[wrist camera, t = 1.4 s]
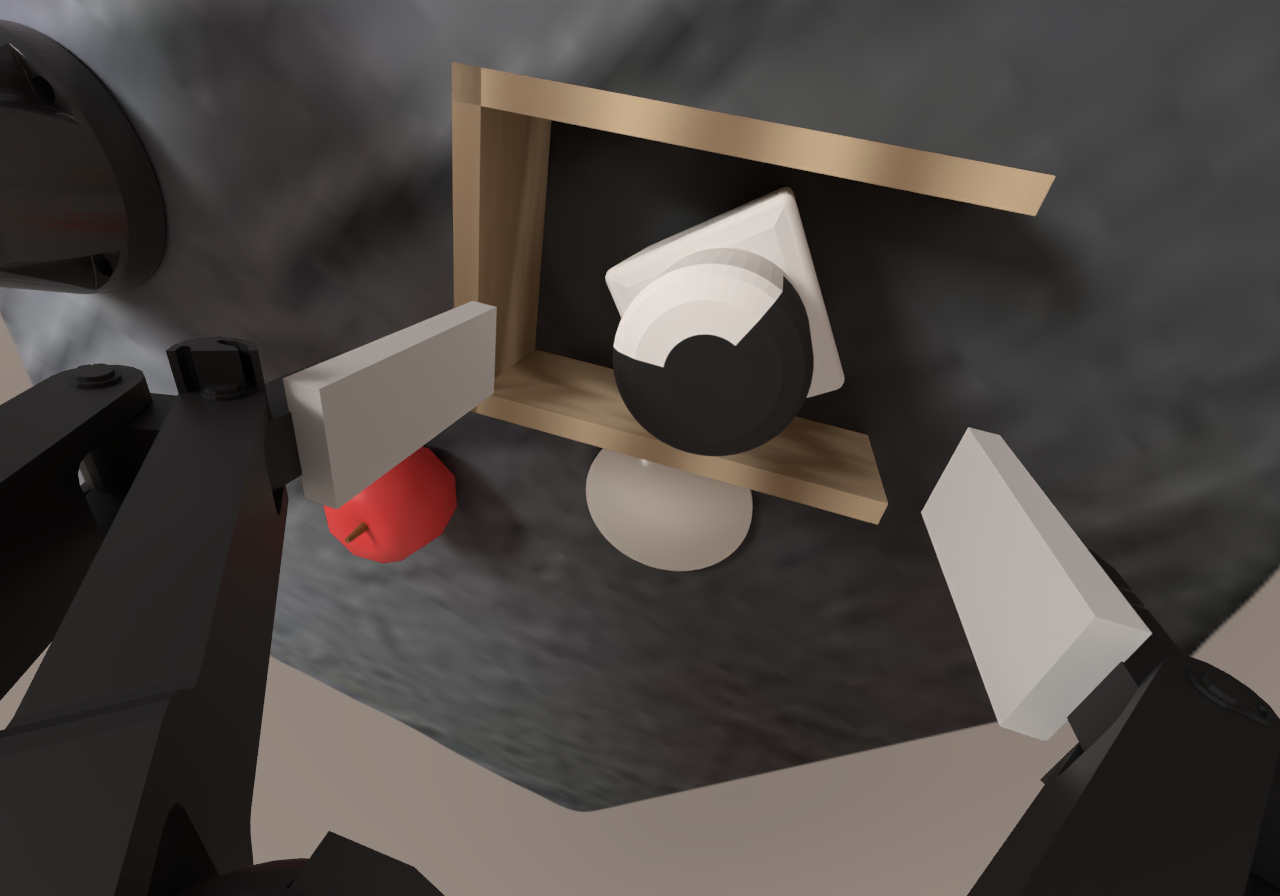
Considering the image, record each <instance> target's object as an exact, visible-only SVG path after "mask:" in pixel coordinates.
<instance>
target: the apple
mask: <svg viewBox="0 0 1280 896" xmlns="http://www.w3.org/2000/svg"><path fill="white" fill-rule="evenodd" d="M456 507H457V498H456V484H455V476H454V475H453V474H452V473H451V472H450V470H449V469H448V468H447V467H446V466H445V465H444V464H443V463H442V462H441V461H440V460H439V459H438V457H437V456H436V455H435V454H434V453H433V452H432V451H431V450H430V449H429V448H426V447H421V448H419V449H418V450H417V451H415V452H414V453H412V454H411V455H410V456H408V457H407V458H406V459H404V460H403V461H402V462H400V463H399V464H398V465H396V466H395V467H394V468H392V469H391V470H390V471H388V472H387V473H386V474H384V475H383V476H382V477H380V478H379V479H378V480H376V481H375V482H373V483H372V484H371V485H369V486H368V487H367V488H365V489H364V490H363V491H361V492H360V493H359V494H357V495H356V496H355V497H353V498H352V499H351V500H349V501H348V502H347V503H345V504H344V505H343V506H341V507H340V508H339V509H334V508H331V507H328V506H325V505H324V509H325V513H326V518H327V522H328V526H329V531H330V532H331V533H332V534H333V535H334V536H335V537H336V538H337V539H338V540H339V541H340V542H341V543H342V544H343V545H344V546H345V547H346V548H347V549H348V550H349V551H350V552H351V553H352V554H353V555H356V556H359V557H363V558H366V559H370V560H374V561H377V562H381V563H388V562H396V561H402V560H403V559H405V558H406V557H408V556H409V555H411V554H412V553H414V552H416V551H417V550H419V549H420V548H422V547H423V546H425V545H426V544H428V543H429V542H431V541H432V540H434V539H435V538H437V537H438V536H439V535H441V534H442V533H443V531H444V529H445V527H446V525H447V524H448V522H449V520H450V518H451V516H452V515H453V513H454V511H455V509H456Z"/></svg>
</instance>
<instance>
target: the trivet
mask: <svg viewBox="0 0 1280 896" xmlns="http://www.w3.org/2000/svg"><path fill="white" fill-rule="evenodd" d="M586 500H587V504H588V508H589V511H590V514H591V516H592V519H593V520H594V522H595V524H596V526H597V527H598V529H599V530H600V532H601V533H602V534H603V536H604V537H605V538H606V539H607V540H608V541H609V542H610V543H611V544H612V545H613V546H614V547H615V548H617V549H618V550H619V551H621V552H622V553H623V554H625V555H627V556H628V557H630V558H632V559H633V560H636V561H638V562H640V563H642V564H645V565H648V566H650V567H654V568H658V569H663V570H670V571H691V570H697V569H702V568H705V567H709V566H711V565H714V564H716V563H718V562H720V561H722V560H723V559H725V558H727V557H728V556H729V555H730V554H732V553H733V552H734V551H735V550H736V549H737V548H738V547H739V546H740V544H741V543H742V541H743V540H744V538H745V537H746V535H747V532H748V530H749V527H750V523H751V520H752V510H753V498H752V492H751V489H748V488H744V487H741V486H737V485H733V484H730V483H726V482H723V481H719V480H715V479H712V478H708V477H705V476H701V475H698V474H694V473H690V472H687V471H683V470H680V469H676V468H672V467H669V466H665V465H662V464H658V463H654V462H651V461H647V460H644V459H640V458H637V457H633V456H629V455H626V454H622V453H619V452H615V451H611V450H608V449H604V448H602V450H601V451H600V452H599V453H598V455H597V456H596V458H595V460H594V461H593V463H592V465H591V467H590V470H589V472H588V476H587V481H586Z"/></svg>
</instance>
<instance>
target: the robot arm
mask: <svg viewBox="0 0 1280 896" xmlns="http://www.w3.org/2000/svg"><path fill="white" fill-rule="evenodd" d="M165 237H166V227H165V216H164V209H163V203H162V199H161V195H160V191H159V187H158V184H157V181H156V178H155V175H154V172H153V170H152V167H151V165H150V162H149V160H148V158H147V155H146V153H145V151H144V149H143V147H142V145H141V143H140V141H139V139H138V137H137V135H136V134H135V132H134V130H133V128H132V127H131V125H130V123H129V122H128V120H127V118H126V117H125V115H124V114H123V112H122V111H121V109H120V108H119V107H118V105H117V104H116V102H115V101H114V100H113V98H112V97H111V96H110V94H109V93H108V92H107V91H106V89H105V88H104V87H103V86H102V85H101V83H100V82H99V81H98V80H97V79H96V78H95V77H94V76H93V75H92V74H91V72H90V71H89V70H88V69H87V68H86V67H85V66H84V65H83V64H82V63H81V62H79V61H78V60H77V59H76V58H75V57H74V56H73V55H72V54H70V53H69V52H68V51H67V50H65V49H64V48H63V47H62V46H60V45H59V44H57V43H56V42H55V41H53V40H52V39H50V38H48V37H47V36H45V35H43V34H42V33H40V32H38V31H36V30H34V29H32V28H29V27H27V26H24V25H22V24H19V23H15V22H11V21H6V20H0V287H7V288H18V289H30V290H42V291H53V292H65V293H76V294H96V293H103V292H109V291H114V290H120V289H125V288H130V287H134V286H137V285H140V284H142V283H143V282H145V281H146V280H148V279H149V278H150V277H151V276H152V275H153V274H154V272H155V271H156V269H157V268H158V266H159V264H160V261H161V259H162V255H163V252H164V246H165ZM496 313H497V307H495V306H491V305H487V304H483V303H479V302H475V301H471V302H469V303H466V304H464V305H461V306H459V307H456V308H454V309H451V310H449V311H447V312H444V313H442V314H439V315H437V316H434V317H432V318H429V319H427V320H425V321H422V322H420V323H417V324H415V325H412V326H410V327H407V328H405V329H402V330H400V331H398V332H395V333H393V334H390V335H388V336H385V337H383V338H380V339H378V340H376V341H373V342H371V343H368V344H366V345H363V346H361V347H358V348H356V349H354V350H351V351H349V352H346V353H340V354H337V355H335V356H332V357H330V358H327V359H325V360H322V361H321V363H319V362H318V363H315V364H313V365H310V366H308V367H307V369H304V368H303V369H300V370H298V371H295V372H293V373H290V374H288V375H285V376H283V377H281V378H278V379H276V380H273V381H271V382H268V383H266V384H264V379H263V374H262V369H261V364H260V359H259V355H258V350H257V347H256V345H254V344H252V343H251V342H249V341H245V340H240V339H236V338H222V337H217V338H201V339H195V340H189V341H184V342H182V343H179V344H176V345H173V346H172V347H170V348H169V349H168V350H166V353H167V356H168V359H169V363H170V366H171V369H172V373H173V376H174V379H175V383H176V386H177V389H178V393H179V394H178V396H174V395H165V394H155V393H150V391H149V388H148V385H147V382H146V379H145V376H144V374H143V372H142V371H141V370H139V369H136V368H134V367H129V366H122V365H106V364H93V365H91V364H90V365H82V366H79V367H78V368H75V369H71V370H67V371H63V372H61V373H58V374H56V375H53V376H51V377H49V378H47V379H45V380H44V381H42V382H40V383H38V384H37V385H35V386H33V387H31V388H30V389H28V390H26V391H25V392H23V393H21V394H19V395H17V396H16V397H14V398H12V399H10V400H9V401H7V402H5V403H3V404H2V405H0V700H1V699H2V698H3V697H4V696H5V695H6V693H7V692H8V691H9V690H10V689H11V688H12V687H13V685H14V684H15V683H16V682H17V681H18V680H19V679H20V677H21V676H22V675H23V674H24V673H25V672H26V671H27V669H28V668H29V667H30V666H31V665H32V664H33V663H34V661H35V660H36V659H37V658H38V657H39V656H40V654H41V653H42V652H43V651H44V650H45V649H46V648H47V646H48V645H49V644H50V643H51V642H52V643H51V645H50V647H49V649H48V651H47V653H46V655H45V656H44V658H43V660H42V663H41V664H40V666H39V668H38V670H37V672H36V674H35V676H34V678H33V680H32V682H31V684H30V686H29V688H28V690H27V692H26V694H25V696H24V698H23V700H22V702H21V704H20V706H19V708H18V709H17V711H16V713H15V716H14V717H13V719H12V720H11V722H10V723H9V724H8V726H7V727H6V729H5V730H1V731H0V896H444V895H443V894H442V893H441V892H440V891H439V890H438V889H437V888H436V887H435V886H434V885H433V884H432V883H431V882H430V881H428V880H427V879H426V878H425V877H424V876H423V875H422V874H421V873H420V872H418V870H417V869H416V868H415V867H413V866H410V865H408V864H406V863H403V862H401V861H399V860H396V859H394V858H391V857H389V856H387V855H385V854H382V853H380V852H377V851H375V850H373V849H370V848H368V847H366V846H363V845H361V844H359V843H356V842H354V841H352V840H349V839H347V838H345V837H342V836H340V835H337V834H335V833H333V832H330V831H329V832H328V833H327V835H326V836H325V837H324V839H323V840H322V842H321V843H320V844H319V846H318V847H317V849H316V850H315V852H314V853H313V854H312V856H311V858H310V859H305V858H299V859H287V860H276V861H271V862H266V863H261V864H256V865H253V854H252V845H251V834H250V818H251V817H250V816H251V806H252V797H253V789H254V781H255V773H256V764H257V756H258V747H259V739H260V731H261V723H262V714H263V705H264V698H265V690H266V681H267V673H268V665H269V657H270V648H271V640H272V632H273V623H274V615H275V607H276V598H277V590H278V582H279V574H280V565H281V557H282V549H283V540H284V532H285V524H286V516H287V507H288V495H287V490H286V484H287V483H289V482H291V481H292V480H294V479H296V478H297V477H299V476H300V475H301V479H302V484H303V489H304V495H305V499H307V500H310V501H313V502H316V503H319V504H322V505H325V506H328V507H331V508H334V509H339V508H340V507H341V506H343V505H344V504H345V503H347V502H348V501H349V500H351V499H352V498H353V497H355V496H356V495H357V494H359V493H360V492H361V491H363V490H364V489H365V488H367V487H368V486H369V485H371V484H372V483H373V482H375V481H376V480H378V479H379V478H380V477H382V476H383V475H384V474H386V473H387V472H388V471H390V470H391V469H392V468H394V467H395V466H396V465H398V464H399V463H400V462H402V461H403V460H404V459H406V458H407V457H408V456H410V455H411V454H412V453H414V452H415V451H417V450H418V449H419V448H421V447H422V446H423V445H425V444H426V443H427V442H429V441H430V440H431V439H433V438H434V437H435V436H437V435H438V434H439V433H441V432H442V431H443V430H445V429H446V428H447V427H449V426H450V425H451V424H453V423H454V422H455V421H457V420H458V419H460V418H461V417H462V416H464V415H465V414H466V413H468V412H469V411H470V410H472V409H473V408H474V407H476V406H477V405H478V404H480V403H481V402H482V401H484V400H485V399H486V398H488V397H489V396H490V395H492V394H493V393H494V374H495V343H496ZM79 469H80V471H81V473H82V476H83V478H84V480H85V482H84V483H83V484H82V485H81V486H80V483H79V478H78V471H79ZM921 514H922V516H923V519H924V522H925V525H926V527H927V530H928V533H929V536H930V538H931V541H932V544H933V546H934V549H935V552H936V555H937V557H938V560H939V563H940V565H941V568H942V571H943V574H944V576H945V579H946V582H947V584H948V587H949V590H950V593H951V595H952V598H953V601H954V603H955V606H956V609H957V612H958V614H959V617H960V620H961V623H962V625H963V628H964V631H965V633H966V636H967V639H968V642H969V644H970V647H971V650H972V652H973V655H974V658H975V661H976V663H977V666H978V669H979V671H980V674H981V677H982V680H983V682H984V685H985V688H986V691H987V693H988V696H989V699H990V701H991V704H992V707H993V710H994V712H995V715H996V718H997V720H998V723H999V726H1000V727H1003V728H1006V729H1009V730H1012V731H1015V732H1018V733H1021V734H1024V735H1027V736H1030V737H1033V738H1037V739H1039V740H1042V741H1046V742H1047V741H1048V740H1049V739H1050V738H1051V737H1052V736H1053V735H1054V734H1055V733H1056V732H1057V731H1058V730H1059V728H1060V727H1062V726H1063V725H1064V724H1065V722H1066V721H1067V720H1068V721H1069V723H1070V724H1071V727H1072V728H1073V731H1074V733H1075V735H1076V737H1077V739H1078V741H1079V743H1078V744H1077V745H1076V746H1075V747H1074V748H1072V749H1071V751H1069V752H1068V753H1067V754H1066V755H1065V756H1064V757H1063V758H1062V759H1061V760H1060V761H1059V762H1058V763H1057V764H1056V765H1055V766H1054V767H1053V768H1052V769H1051V770H1050V771H1049V772H1048V773H1047V774H1046V775H1045V776H1044V777H1043V778H1042V779H1041V781H1042V782H1043V783H1044V784H1045V786H1044V787H1043V788H1042V790H1041V791H1040V792H1039V794H1038V795H1037V797H1036V798H1035V799H1034V801H1033V802H1032V804H1031V805H1030V807H1029V808H1028V809H1027V811H1026V812H1025V814H1024V815H1023V817H1022V818H1021V819H1020V821H1019V822H1018V824H1017V825H1016V827H1015V828H1014V829H1013V831H1012V832H1011V834H1010V835H1009V837H1008V838H1007V839H1006V841H1005V842H1004V844H1003V845H1002V847H1001V848H1000V849H999V851H998V852H997V854H996V855H995V856H994V858H993V859H992V861H991V862H990V864H989V865H988V867H987V868H986V869H985V871H984V872H983V874H982V875H981V876H980V878H979V879H978V881H977V882H976V884H975V885H974V886H973V888H972V889H971V891H970V892H969V893H968V895H967V896H1280V719H1279V718H1278V716H1277V715H1276V714H1275V712H1274V711H1273V710H1272V708H1271V707H1270V706H1269V705H1268V704H1267V703H1266V702H1265V701H1264V700H1263V699H1261V698H1260V697H1259V696H1258V695H1257V694H1256V693H1255V692H1254V691H1252V690H1251V689H1250V688H1248V687H1247V686H1246V685H1244V684H1243V683H1241V682H1240V681H1238V680H1237V679H1235V678H1234V677H1232V676H1231V675H1229V674H1227V673H1225V672H1224V671H1222V670H1220V669H1218V668H1216V667H1214V666H1212V665H1210V664H1208V663H1206V662H1203V661H1201V660H1198V659H1195V658H1192V657H1189V656H1184V654H1183V653H1182V652H1181V651H1180V649H1179V648H1178V647H1177V646H1176V644H1175V643H1174V642H1173V641H1172V639H1171V638H1170V637H1169V636H1168V634H1167V633H1166V632H1165V631H1164V629H1163V628H1162V627H1161V626H1160V624H1159V623H1158V622H1157V621H1156V619H1155V618H1154V617H1153V616H1152V615H1151V613H1150V612H1149V611H1148V610H1147V609H1144V605H1143V603H1142V602H1141V601H1140V600H1139V598H1138V597H1137V596H1136V595H1135V593H1132V592H1131V588H1130V587H1129V586H1128V585H1127V583H1126V582H1125V581H1124V580H1123V578H1122V577H1121V576H1120V575H1119V573H1118V572H1117V571H1116V570H1115V569H1114V568H1113V567H1112V566H1110V565H1109V564H1108V563H1107V562H1105V561H1104V560H1103V559H1102V558H1100V557H1099V556H1098V555H1097V554H1095V553H1094V552H1093V551H1092V550H1089V549H1087V548H1086V547H1085V545H1084V544H1083V543H1082V542H1081V540H1080V539H1079V538H1078V536H1077V535H1076V534H1075V532H1074V531H1073V530H1072V529H1071V527H1070V526H1069V525H1068V523H1067V522H1066V521H1065V519H1064V518H1063V517H1062V516H1061V514H1060V513H1059V512H1058V510H1057V509H1056V508H1055V506H1054V505H1053V504H1052V503H1051V501H1050V500H1049V499H1048V497H1047V496H1046V495H1045V493H1044V492H1043V491H1042V490H1041V488H1040V487H1039V486H1038V484H1037V483H1036V482H1035V480H1034V479H1033V478H1032V477H1031V475H1030V474H1029V473H1028V471H1027V470H1026V469H1025V467H1024V466H1023V465H1022V464H1021V462H1020V461H1019V460H1018V458H1017V457H1016V456H1015V455H1014V453H1013V452H1012V451H1011V449H1010V448H1009V447H1008V445H1007V444H1006V443H1005V442H1004V440H1003V439H1002V438H1001V436H1000V435H997V434H993V433H989V432H985V431H981V430H977V429H973V428H969V427H968V429H967V430H966V432H965V434H964V436H963V438H962V439H961V441H960V443H959V445H958V447H957V448H956V450H955V452H954V454H953V456H952V457H951V459H950V461H949V463H948V465H947V467H946V468H945V470H944V472H943V474H942V476H941V477H940V479H939V481H938V483H937V485H936V486H935V488H934V490H933V492H932V494H931V495H930V497H929V499H928V501H927V503H926V504H925V506H924V508H923V510H922V512H921Z"/></svg>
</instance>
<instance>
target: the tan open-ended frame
mask: <svg viewBox="0 0 1280 896" xmlns="http://www.w3.org/2000/svg"><path fill="white" fill-rule="evenodd" d="M451 63H452V161H453V260H454V308H456V307H459V306H461V305H464V304H466V303H469V302H471V301H475V302H479V303H483V304H487V305H491V306H495V307H497V313H496V343H495V374H494V393H493V394H492V395H490V396H489V397H488V398H486V399H485V400H484V401H482V402H481V403H480V404H478V405H477V406H476V407H474V408H473V409H472V410H470V411H472V412H475V413H479V414H482V415H486V416H489V417H493V418H497V419H500V420H504V421H507V422H511V423H515V424H518V425H522V426H525V427H529V428H533V429H536V430H540V431H543V432H547V433H550V434H554V435H558V436H561V437H565V438H568V439H572V440H576V441H579V442H583V443H586V444H590V445H594V446H597V447H601V448H604V449H608V450H611V451H615V452H619V453H622V454H626V455H629V456H633V457H637V458H640V459H644V460H647V461H651V462H654V463H658V464H662V465H665V466H669V467H672V468H676V469H680V470H683V471H687V472H690V473H694V474H698V475H701V476H705V477H708V478H712V479H715V480H719V481H723V482H726V483H730V484H733V485H737V486H741V487H744V488H748V489H751V490H755V491H758V492H762V493H766V494H769V495H773V496H776V497H780V498H784V499H787V500H791V501H794V502H798V503H802V504H805V505H809V506H812V507H816V508H819V509H823V510H827V511H830V512H834V513H837V514H841V515H845V516H848V517H852V518H855V519H859V520H862V521H866V522H870V523H873V524H877V525H878V523H879V521H880V519H881V517H882V515H883V513H884V511H885V509H886V507H887V505H888V501H887V498H886V495H885V491H884V488H883V485H882V481H881V478H880V475H879V471H878V468H877V464H876V461H875V458H874V454H873V451H872V448H871V444H870V441H869V438H868V435H866V434H862V433H858V432H854V431H850V430H846V429H843V428H839V427H835V426H831V425H827V424H823V423H819V422H815V421H812V420H808V419H804V418H800V417H795V418H794V419H793V421H792V422H791V423H790V424H789V425H788V426H787V427H786V428H785V429H784V430H783V431H782V432H781V433H779V434H778V435H777V436H776V437H774V438H773V439H772V440H770V441H768V442H767V443H765V444H763V445H761V446H759V447H757V448H754V449H752V450H750V451H746V452H743V453H739V454H734V455H728V456H703V455H696V454H692V453H687V452H684V451H681V450H678V449H675V448H673V447H671V446H669V445H667V444H665V443H663V442H661V441H660V440H658V439H657V438H655V437H654V436H652V435H651V434H650V433H649V432H648V431H646V430H645V429H644V428H643V427H642V426H641V425H640V424H639V423H638V422H637V421H636V420H635V418H634V417H633V416H632V414H631V413H630V412H629V410H628V409H627V407H626V405H625V403H624V401H623V400H622V398H621V395H620V393H619V390H618V387H617V385H616V380H615V376H614V370H613V369H610V368H606V367H603V366H599V365H595V364H591V363H587V362H583V361H579V360H575V359H572V358H568V357H564V356H560V355H556V354H552V353H548V352H544V351H541V350H537V349H535V343H536V329H537V315H538V301H539V287H540V273H541V259H542V245H543V231H544V217H545V204H546V190H547V176H548V162H549V148H550V134H551V120H554V121H559V122H564V123H569V124H574V125H579V126H584V127H589V128H594V129H599V130H604V131H609V132H614V133H619V134H624V135H629V136H634V137H639V138H644V139H649V140H655V141H660V142H665V143H670V144H675V145H680V146H685V147H690V148H695V149H700V150H705V151H710V152H715V153H720V154H725V155H730V156H735V157H740V158H745V159H750V160H755V161H760V162H765V163H770V164H775V165H780V166H785V167H790V168H795V169H800V170H805V171H810V172H816V173H821V174H826V175H831V176H836V177H841V178H846V179H851V180H856V181H861V182H866V183H871V184H876V185H881V186H886V187H891V188H896V189H901V190H906V191H911V192H916V193H921V194H926V195H931V196H936V197H941V198H946V199H951V200H956V201H961V202H966V203H971V204H976V205H982V206H987V207H992V208H997V209H1002V210H1007V211H1012V212H1017V213H1022V214H1027V215H1032V216H1036V214H1037V212H1038V210H1039V208H1040V206H1041V204H1042V202H1043V200H1044V198H1045V196H1046V194H1047V192H1048V190H1049V188H1050V186H1051V184H1052V182H1053V181H1054V179H1055V177H1056V176H1053V175H1048V174H1042V173H1037V172H1032V171H1026V170H1021V169H1016V168H1011V167H1005V166H1000V165H995V164H989V163H984V162H979V161H973V160H968V159H963V158H958V157H952V156H947V155H942V154H936V153H931V152H926V151H920V150H915V149H910V148H905V147H899V146H894V145H889V144H883V143H878V142H873V141H868V140H862V139H857V138H852V137H846V136H841V135H836V134H830V133H825V132H820V131H815V130H809V129H804V128H799V127H793V126H788V125H783V124H777V123H772V122H767V121H762V120H756V119H751V118H746V117H740V116H735V115H730V114H724V113H719V112H714V111H709V110H703V109H698V108H693V107H687V106H682V105H677V104H672V103H666V102H661V101H656V100H650V99H645V98H640V97H634V96H629V95H624V94H619V93H613V92H608V91H603V90H597V89H592V88H587V87H581V86H576V85H571V84H566V83H560V82H555V81H550V80H544V79H539V78H534V77H528V76H523V75H518V74H513V73H507V72H502V71H497V70H491V69H486V68H481V67H476V66H470V65H465V64H460V63H454V62H451Z"/></svg>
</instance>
